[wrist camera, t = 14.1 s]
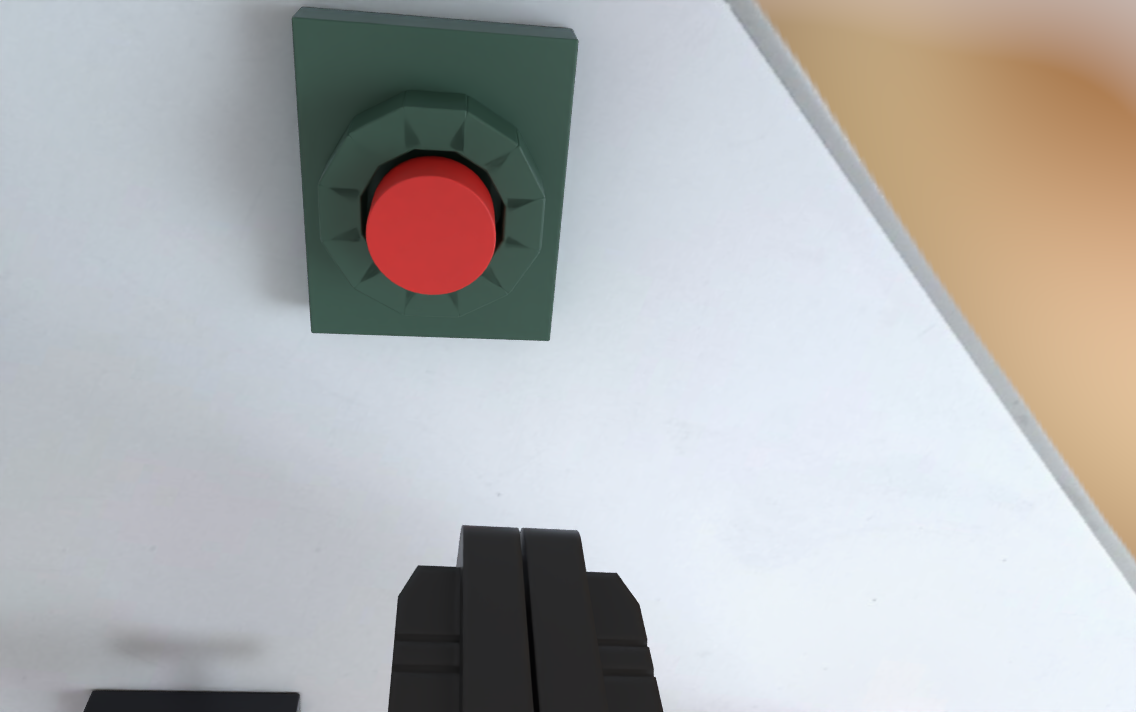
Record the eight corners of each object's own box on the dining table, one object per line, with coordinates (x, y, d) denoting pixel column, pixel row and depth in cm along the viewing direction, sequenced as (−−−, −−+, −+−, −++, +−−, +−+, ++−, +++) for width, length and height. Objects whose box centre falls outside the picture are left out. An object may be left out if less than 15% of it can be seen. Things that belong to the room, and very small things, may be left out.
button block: (301, 6, 25) (279, 29, 22) (572, 28, 27) (585, 53, 24) (318, 309, 30) (302, 361, 28) (546, 318, 32) (554, 369, 29)
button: (370, 151, 25) (364, 171, 23) (497, 159, 25) (499, 179, 24) (372, 267, 27) (367, 293, 25) (491, 272, 27) (492, 298, 26)
